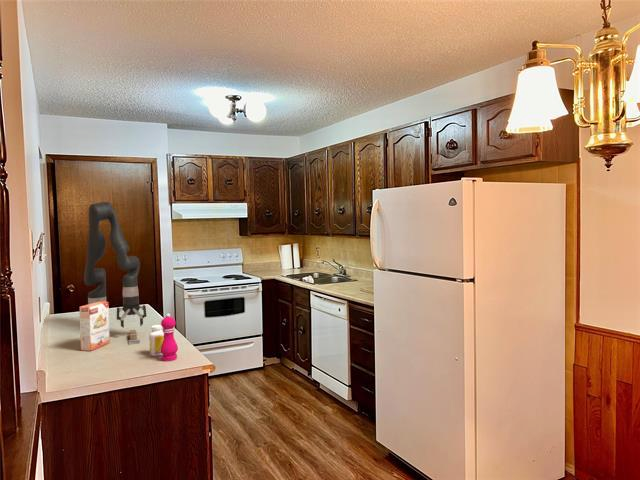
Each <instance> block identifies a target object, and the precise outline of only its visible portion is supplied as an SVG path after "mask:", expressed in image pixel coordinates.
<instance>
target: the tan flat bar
mask: <svg viewBox="0 0 640 480" xmlns="http://www.w3.org/2000/svg"><path fill="white" fill-rule="evenodd" d="M128 332H129V333H128V334H129V340H128V345H139V344H140V343H141V342H140V339H139V338H138V337H137V336H138V335H137V331H136V330H135V329H131V330H129V331H128Z"/></svg>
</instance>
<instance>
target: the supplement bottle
mask: <svg viewBox="0 0 640 480" xmlns="http://www.w3.org/2000/svg"><path fill="white" fill-rule="evenodd" d="M150 329H151V331H150V332H149V336H148V337H149V355H150V356H152V357H159V356H162V355H163V354H162V353H161V351H160V350H161V345H162V343H163V340H164V333H163V332H162V331H163V330H162V329H163V327H162V326H161V324H156V325H151V327H150Z"/></svg>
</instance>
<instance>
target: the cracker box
mask: <svg viewBox="0 0 640 480" xmlns="http://www.w3.org/2000/svg"><path fill="white" fill-rule="evenodd" d="M109 305H110V303H109V301H106V302H96V303H92V304H88V303H87V304H85V305H82V306H79V332H80V333H79V335H80V351H84V352H92V351H94V350H97V349H99V348H102V347H105V346H106V345H109V344H110V343H111V342H110V311H109V310H110V308H109Z"/></svg>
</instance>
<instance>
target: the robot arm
mask: <svg viewBox="0 0 640 480" xmlns="http://www.w3.org/2000/svg"><path fill="white" fill-rule="evenodd" d="M105 220H108V223H109V224H110V232H109V242H110V245H111V247H112V248H113V250H114V252H115V256H116V261H117V265H118V268H119V269H121V270H122V271H124V272H126V271H127V274H125V275H123V276H122V307H118V306H117V307H116V320H117V321H120V327H121V328H122V329H124V327H125V324H124V320H125V318H126V317H127V316H135V315H137V316H138V317H139V326H140V327H142V326H143V324H144V318H146V317H147V307H146V305H145V304H143V305H140V299H139V288H138V287H139V286H138V276H139V272H140V268H141V263H140V259H139V258H138V257H137V256H135V255H127V254H128V252H130V250H131V249H130V246H129V244H128V242H127V240H126V238H125V237H124V235H123V232H122V229H121V226H120V222H119V220H118V217H117V214H116V211H115V208H114V206H113V205H112V203H110V202H109V201H102V202H97V203H96V202H95V203H92V204H90V205H89V207H88V234H87V235H88V237H87V245H86V261H85V267H84V268H85V269H84V275H83V281H84V284H85V285H86V286H89V287H90V286H97V287H96V288H95V289H94V290H91V291H89V292H88V293H87V302H88V303H87V305H88V304H92V303H96V302H107V272H106V269H105V268H103V267H100V268H95V266H96V264H97V263H98V262H99V261H100V260H101V259H102V258H103V256H104V255H105V254H106V250H107V244H108V243H107V238H106V237H105V235H104V233H102V231H101V229H100V222H101V221H105ZM139 310H142V311H143V314H141V313H140V311H139ZM122 311H123V312H124V313H123V314H122V315H121V316H120V313H121V312H122Z"/></svg>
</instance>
